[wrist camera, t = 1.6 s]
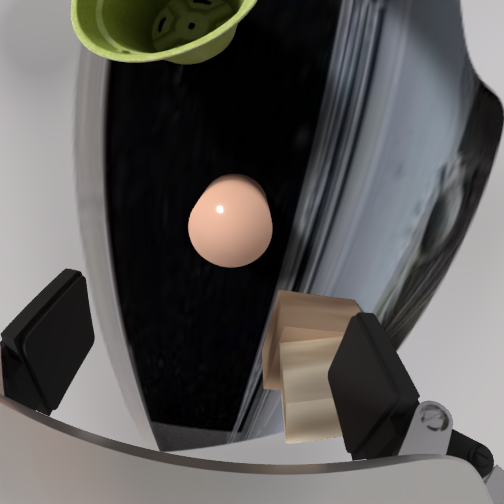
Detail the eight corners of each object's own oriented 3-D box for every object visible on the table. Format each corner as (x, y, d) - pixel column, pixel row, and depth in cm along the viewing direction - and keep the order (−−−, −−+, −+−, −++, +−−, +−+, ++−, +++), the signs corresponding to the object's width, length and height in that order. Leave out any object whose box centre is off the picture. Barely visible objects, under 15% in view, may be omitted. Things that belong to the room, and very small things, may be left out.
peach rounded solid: (206, 169, 20) (192, 182, 16) (273, 179, 20) (279, 195, 16) (198, 231, 22) (185, 260, 18) (261, 241, 22) (264, 272, 18)
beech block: (279, 342, 20) (286, 403, 15) (353, 334, 20) (375, 389, 15) (280, 389, 23) (285, 443, 18) (344, 381, 23) (359, 432, 18)
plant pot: (152, -24, 13) (109, -76, 5) (274, -13, 14) (286, -77, 6) (118, 79, 17) (49, 64, 9) (243, 95, 18) (237, 73, 10)
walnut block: (278, 288, 24) (284, 326, 20) (354, 299, 25) (372, 334, 20) (261, 349, 27) (263, 388, 23) (329, 355, 28) (340, 392, 23)
